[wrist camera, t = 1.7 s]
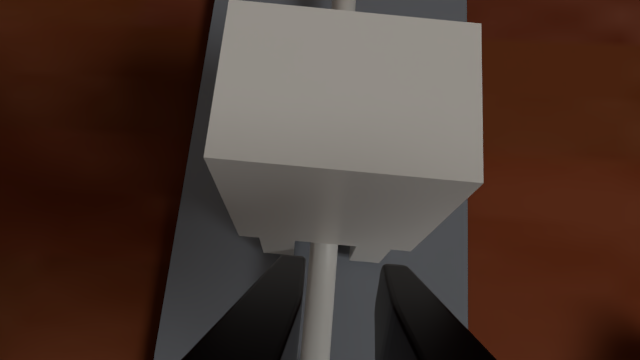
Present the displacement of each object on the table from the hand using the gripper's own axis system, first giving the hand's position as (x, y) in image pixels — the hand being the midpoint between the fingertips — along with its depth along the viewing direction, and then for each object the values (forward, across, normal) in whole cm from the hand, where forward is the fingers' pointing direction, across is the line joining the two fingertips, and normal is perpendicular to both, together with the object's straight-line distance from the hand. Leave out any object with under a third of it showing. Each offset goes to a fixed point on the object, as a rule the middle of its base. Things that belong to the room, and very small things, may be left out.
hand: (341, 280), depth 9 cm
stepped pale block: (+12, 0, +5) cm, 13 cm away
